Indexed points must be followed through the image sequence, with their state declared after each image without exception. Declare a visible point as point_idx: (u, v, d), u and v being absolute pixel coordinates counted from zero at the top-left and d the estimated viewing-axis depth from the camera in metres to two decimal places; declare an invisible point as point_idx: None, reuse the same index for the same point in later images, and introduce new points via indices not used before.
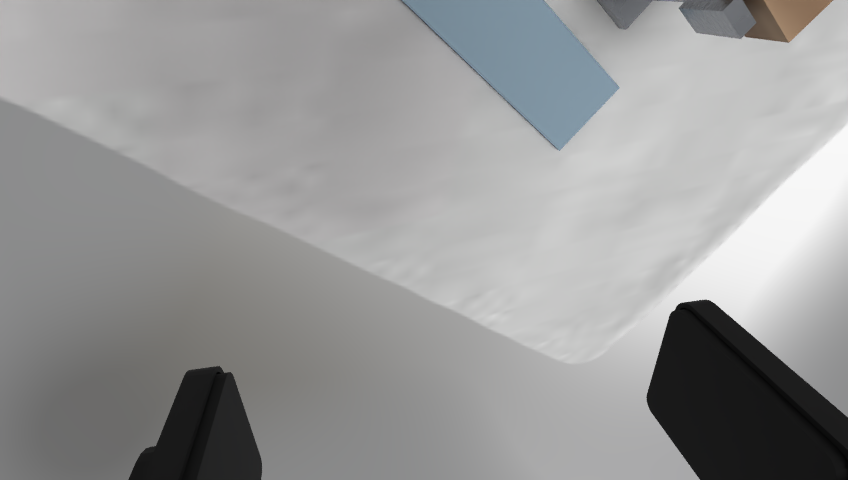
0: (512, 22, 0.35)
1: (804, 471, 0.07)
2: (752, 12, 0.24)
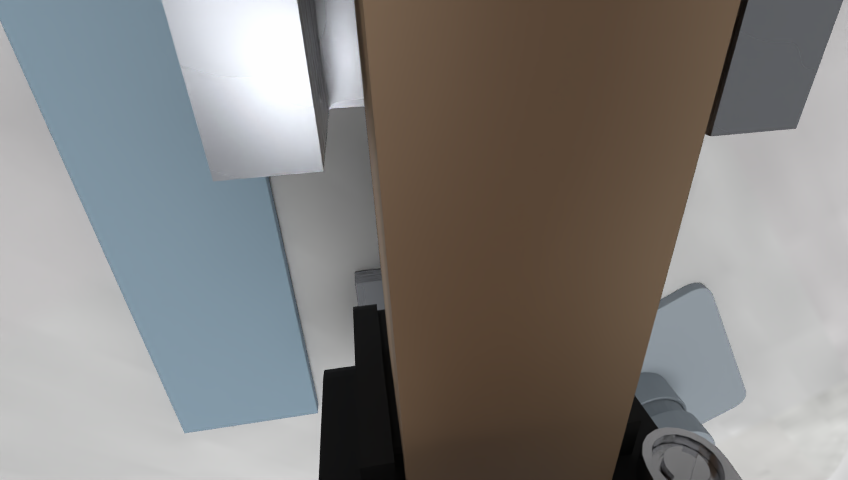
0: (215, 247, 0.20)
1: None
2: None
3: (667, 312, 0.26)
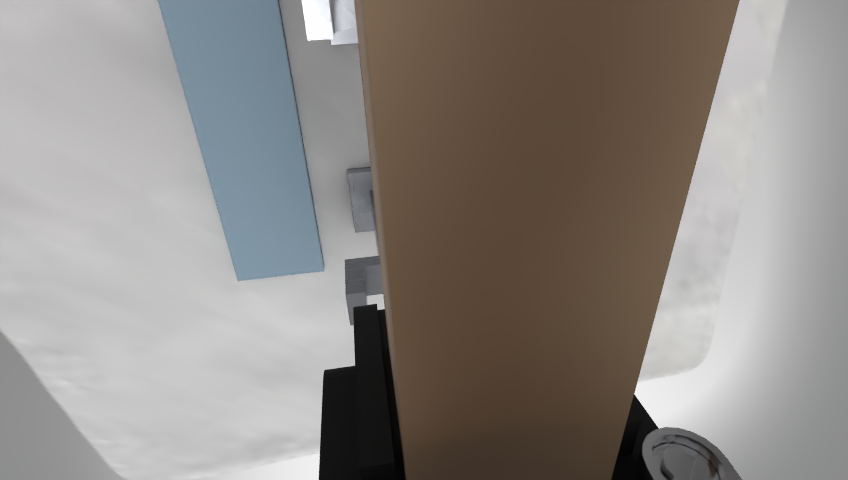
0: (264, 147, 0.33)
1: None
2: None
3: None
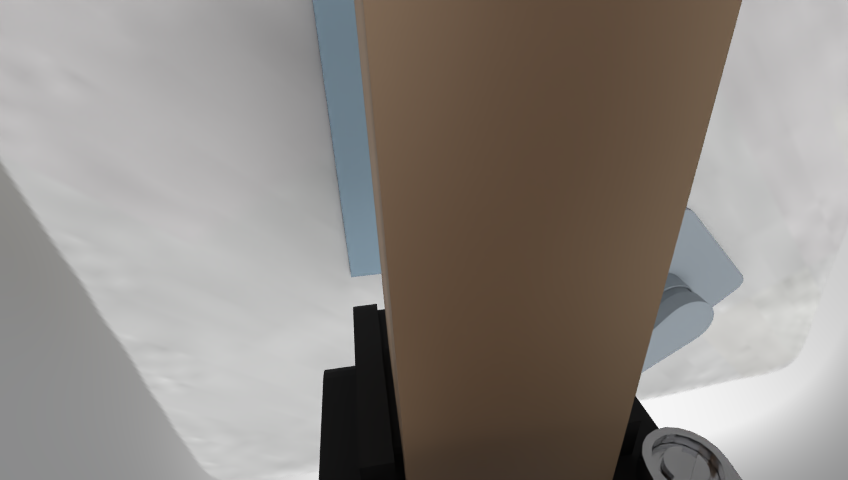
0: None
1: None
2: None
3: None
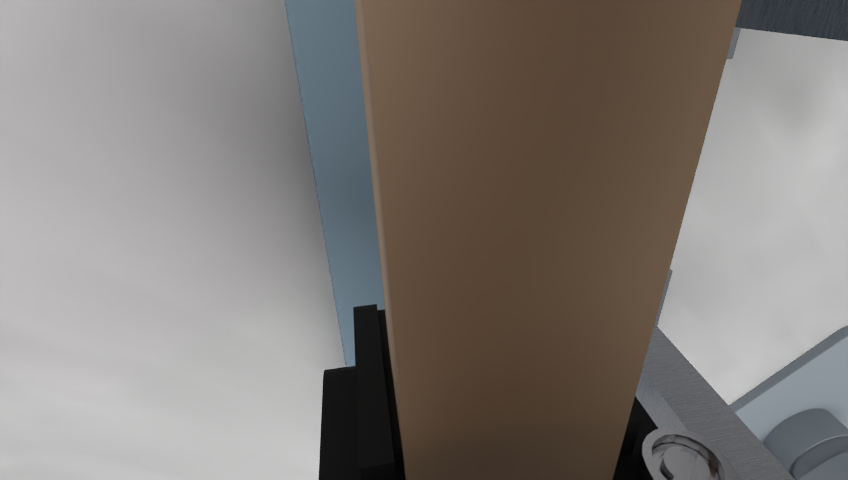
0: None
1: None
2: None
3: (824, 358, 0.26)
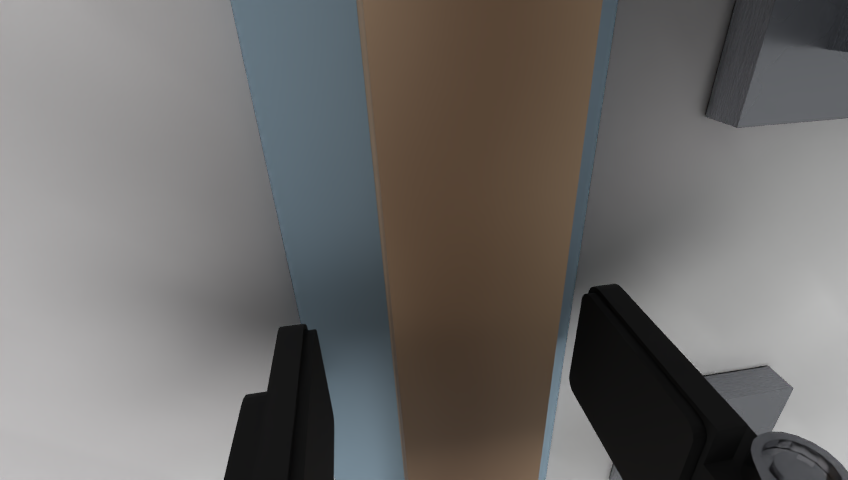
0: None
1: (673, 436, 0.08)
2: None
3: None
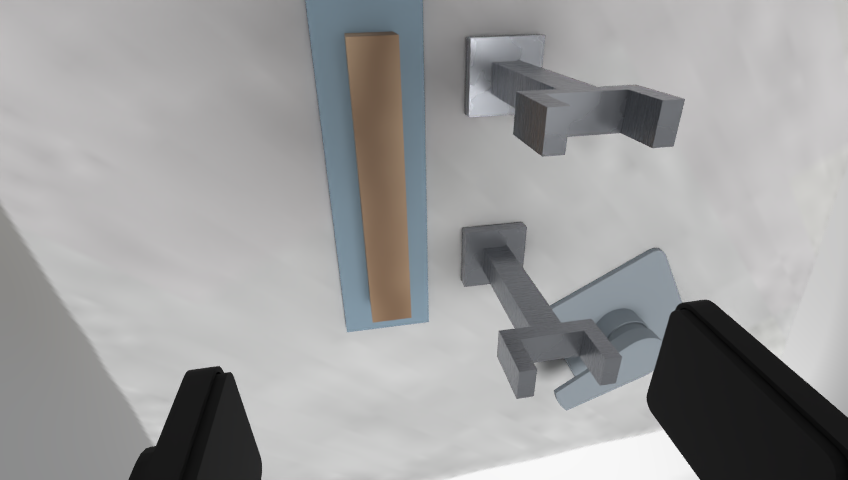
0: None
1: (804, 471, 0.07)
2: (369, 290, 0.35)
3: (637, 266, 0.41)
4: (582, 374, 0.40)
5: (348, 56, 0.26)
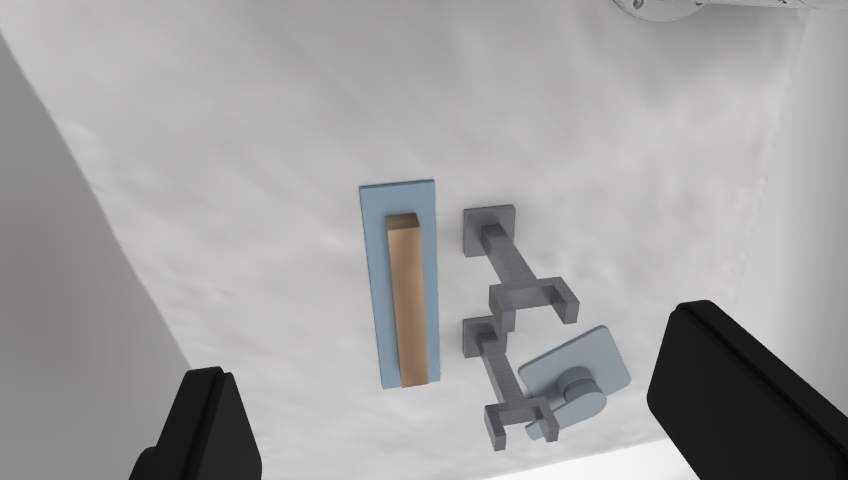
0: None
1: (804, 471, 0.07)
2: (399, 365, 0.51)
3: (588, 338, 0.57)
4: None
5: (389, 240, 0.42)
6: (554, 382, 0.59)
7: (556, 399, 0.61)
